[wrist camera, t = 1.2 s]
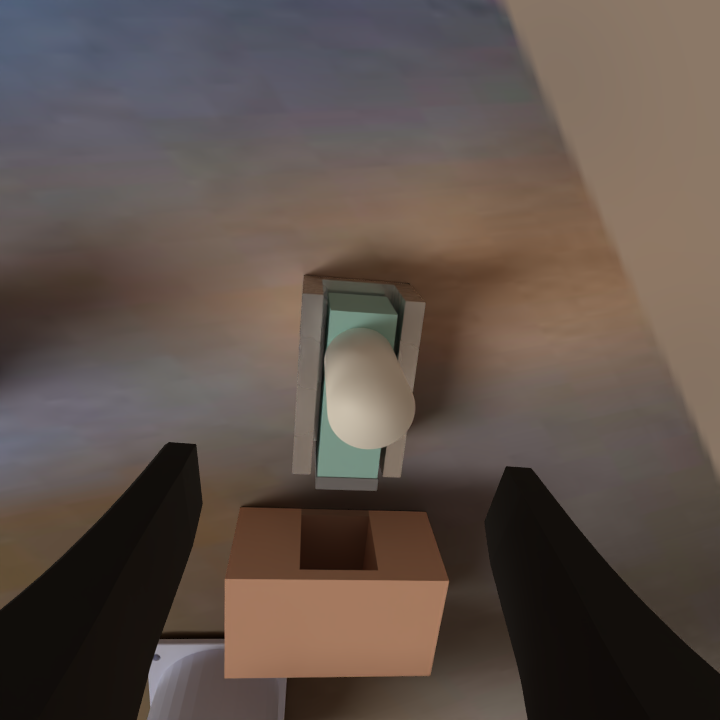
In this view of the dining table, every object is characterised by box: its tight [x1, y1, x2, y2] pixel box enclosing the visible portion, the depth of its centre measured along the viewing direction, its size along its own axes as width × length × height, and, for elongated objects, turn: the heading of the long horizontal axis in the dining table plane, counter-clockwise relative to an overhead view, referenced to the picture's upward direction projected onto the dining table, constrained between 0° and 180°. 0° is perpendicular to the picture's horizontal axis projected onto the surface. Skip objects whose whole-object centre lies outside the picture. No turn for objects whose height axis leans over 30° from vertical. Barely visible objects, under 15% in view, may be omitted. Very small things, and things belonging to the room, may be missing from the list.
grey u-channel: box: [292, 275, 426, 477], centre depth 23 cm, size 8×5×4 cm, turn 174°
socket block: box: [224, 507, 449, 679], centre depth 26 cm, size 6×10×5 cm, turn 84°
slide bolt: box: [315, 293, 415, 491], centre depth 20 cm, size 8×3×7 cm, turn 174°
